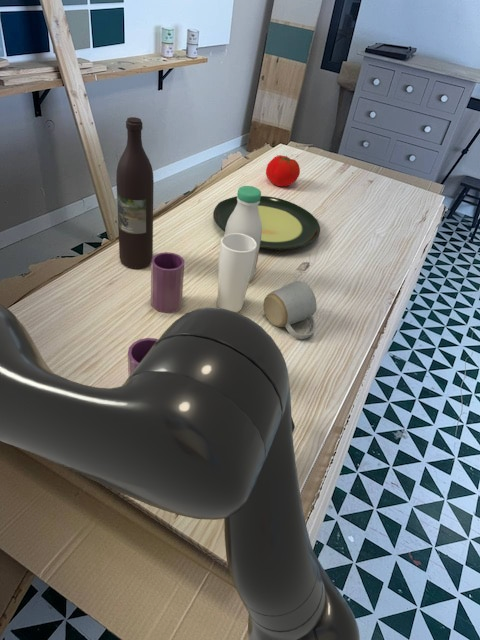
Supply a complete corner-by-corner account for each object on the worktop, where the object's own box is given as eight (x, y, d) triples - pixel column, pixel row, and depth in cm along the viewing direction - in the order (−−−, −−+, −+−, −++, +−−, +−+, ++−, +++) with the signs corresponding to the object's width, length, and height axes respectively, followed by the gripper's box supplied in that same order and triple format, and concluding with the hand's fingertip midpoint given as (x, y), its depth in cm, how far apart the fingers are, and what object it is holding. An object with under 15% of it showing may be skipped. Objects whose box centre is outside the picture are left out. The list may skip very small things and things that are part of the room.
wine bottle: (113, 258, 102) (105, 115, 83) (139, 248, 106) (138, 111, 87) (132, 273, 99) (129, 128, 79) (159, 262, 103) (162, 123, 84)
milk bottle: (251, 287, 100) (267, 202, 88) (216, 280, 101) (227, 194, 88) (256, 268, 106) (271, 185, 93) (223, 261, 107) (233, 178, 94)
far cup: (155, 315, 89) (156, 272, 83) (147, 296, 93) (147, 254, 87) (185, 310, 92) (188, 268, 85) (176, 292, 96) (178, 250, 89)
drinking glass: (249, 301, 97) (261, 238, 87) (241, 320, 92) (252, 255, 82) (218, 292, 97) (226, 229, 88) (208, 311, 92) (215, 246, 83)
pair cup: (134, 415, 71) (133, 370, 65) (125, 387, 75) (123, 342, 69) (172, 406, 73) (175, 362, 67) (161, 379, 77) (163, 334, 71)
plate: (195, 236, 113) (195, 227, 112) (233, 193, 134) (234, 185, 133) (305, 269, 109) (308, 260, 107) (327, 219, 130) (329, 211, 128)
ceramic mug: (257, 314, 94) (264, 284, 89) (288, 302, 98) (296, 273, 93) (292, 347, 88) (301, 316, 83) (322, 333, 92) (333, 303, 87)
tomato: (261, 176, 146) (265, 150, 141) (292, 178, 149) (297, 152, 143) (267, 189, 140) (272, 162, 134) (300, 191, 142) (306, 164, 136)
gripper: (318, 455, 56) (278, 359, 68) (202, 472, 53) (181, 368, 64) (304, 488, 61) (269, 393, 73) (197, 505, 57) (178, 403, 69)
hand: (228, 381), depth 69 cm, fingers open, 8 cm apart
